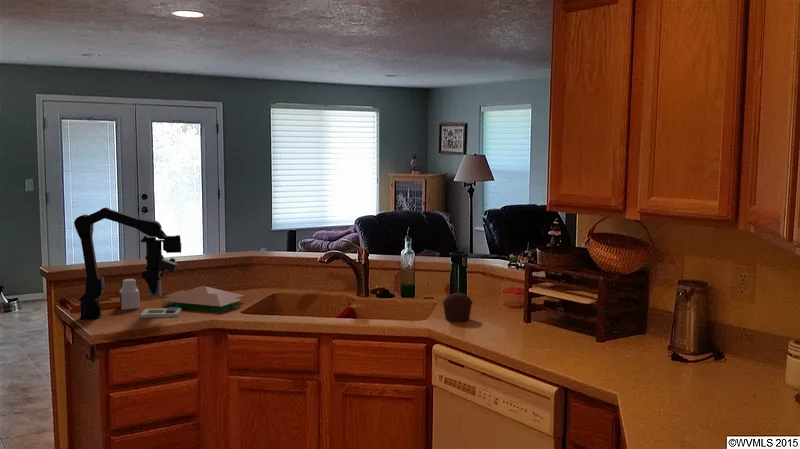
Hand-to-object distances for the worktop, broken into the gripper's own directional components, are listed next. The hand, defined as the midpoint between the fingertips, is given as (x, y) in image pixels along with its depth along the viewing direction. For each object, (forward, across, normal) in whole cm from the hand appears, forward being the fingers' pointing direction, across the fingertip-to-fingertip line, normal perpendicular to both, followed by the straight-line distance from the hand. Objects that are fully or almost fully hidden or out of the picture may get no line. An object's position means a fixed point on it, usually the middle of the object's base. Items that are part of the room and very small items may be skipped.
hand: (155, 292), depth 286 cm
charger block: (+1, 0, 0) cm, 1 cm away
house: (+9, +17, -17) cm, 26 cm away
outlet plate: (+9, 0, -2) cm, 9 cm away
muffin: (+9, -25, -116) cm, 119 cm away
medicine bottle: (+9, +15, +13) cm, 22 cm away
